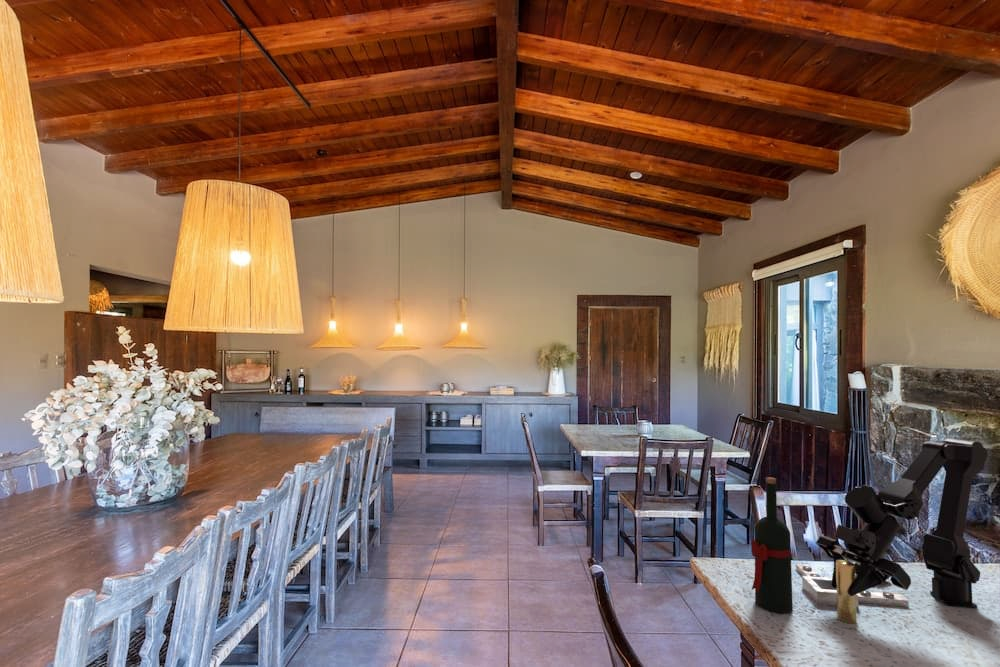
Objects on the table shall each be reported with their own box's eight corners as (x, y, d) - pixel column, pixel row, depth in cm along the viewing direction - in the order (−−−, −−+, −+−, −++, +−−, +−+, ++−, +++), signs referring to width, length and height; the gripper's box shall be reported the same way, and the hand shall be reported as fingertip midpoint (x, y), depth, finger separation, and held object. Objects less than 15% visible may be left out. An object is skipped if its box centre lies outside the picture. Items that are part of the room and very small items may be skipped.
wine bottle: (740, 603, 120) (738, 476, 121) (770, 595, 124) (767, 473, 125) (769, 618, 113) (767, 484, 114) (800, 610, 117) (797, 480, 118)
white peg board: (867, 574, 136) (867, 563, 136) (916, 612, 116) (915, 599, 116) (785, 568, 140) (784, 557, 140) (817, 604, 120) (817, 591, 120)
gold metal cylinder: (851, 616, 114) (850, 560, 115) (859, 624, 110) (858, 567, 111) (834, 614, 115) (832, 559, 115) (841, 623, 111) (840, 565, 112)
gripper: (820, 502, 124) (786, 552, 120) (899, 526, 106) (861, 586, 102) (845, 531, 126) (812, 581, 122) (927, 560, 108) (891, 620, 104)
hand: (841, 590), depth 112 cm, fingers closed on gold metal cylinder, 4 cm apart
